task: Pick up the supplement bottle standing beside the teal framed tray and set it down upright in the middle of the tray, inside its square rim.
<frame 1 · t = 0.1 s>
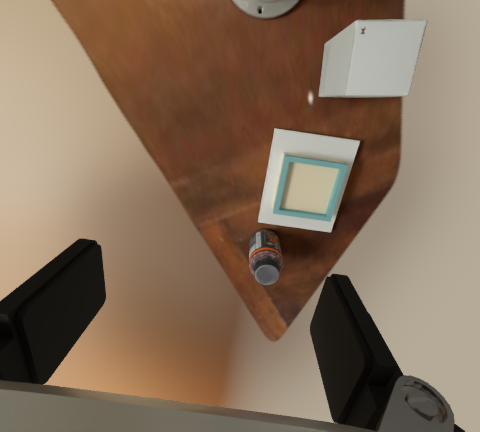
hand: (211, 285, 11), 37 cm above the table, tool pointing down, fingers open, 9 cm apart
supplement bottle: (264, 240, 52), on the table
supplement box: (344, 71, 39), on the table
teal framed tray: (304, 182, 46), on the table
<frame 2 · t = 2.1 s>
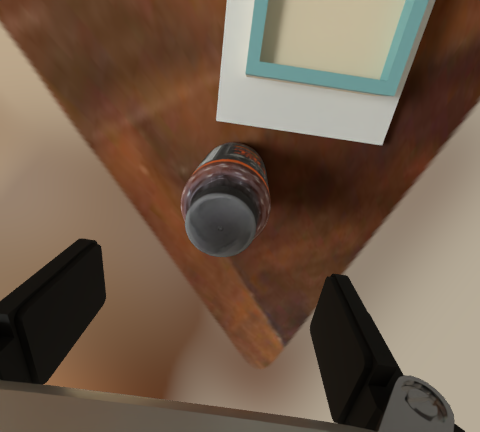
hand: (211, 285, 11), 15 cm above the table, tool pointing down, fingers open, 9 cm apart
supplement bottle: (234, 172, 24), on the table
teal framed tray: (324, 11, 19), on the table
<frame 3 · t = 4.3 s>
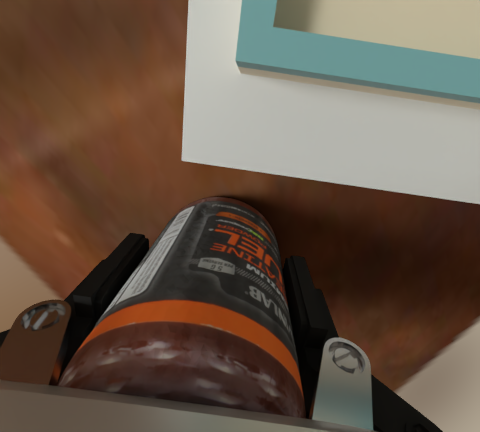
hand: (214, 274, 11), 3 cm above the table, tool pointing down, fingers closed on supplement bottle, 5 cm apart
supplement bottle: (221, 243, 14), on the table, touching gripper
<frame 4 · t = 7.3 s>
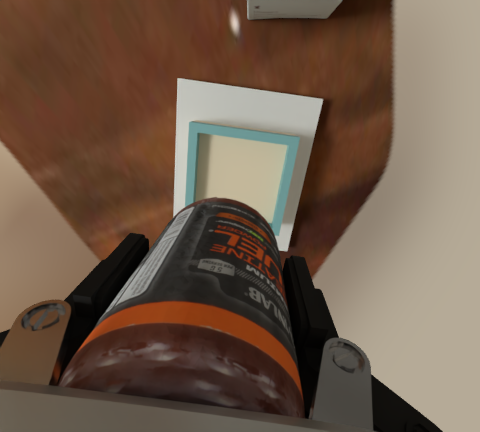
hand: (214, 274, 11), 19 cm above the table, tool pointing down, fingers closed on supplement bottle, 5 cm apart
supplement bottle: (221, 243, 14), point 16 cm above the table, touching gripper
teal framed tray: (239, 172, 29), on the table
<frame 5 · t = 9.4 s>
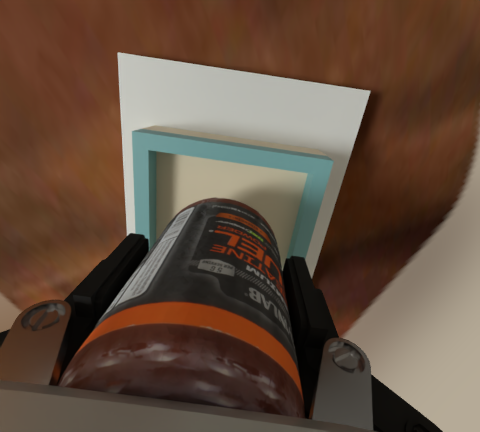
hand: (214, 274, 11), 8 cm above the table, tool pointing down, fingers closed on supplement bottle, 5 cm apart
supplement bottle: (221, 243, 14), point 5 cm above the table, touching gripper
teal framed tray: (228, 206, 19), on the table
when the fingers open (7 cm above the table, at t = 10.8 s): supplement bottle drops 1 cm, resting on teal framed tray.
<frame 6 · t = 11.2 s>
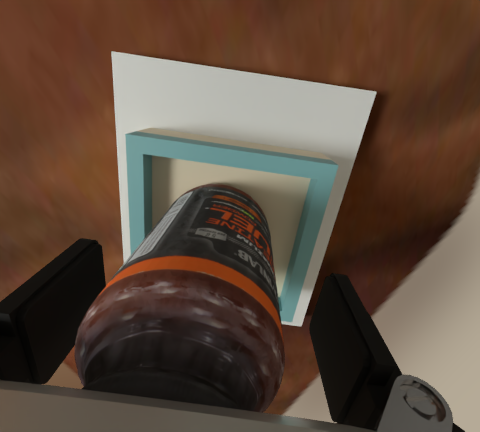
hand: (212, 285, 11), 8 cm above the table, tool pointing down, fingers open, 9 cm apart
supplement bottle: (218, 227, 15), point 3 cm above the table, touching teal framed tray
teal framed tray: (228, 211, 18), on the table
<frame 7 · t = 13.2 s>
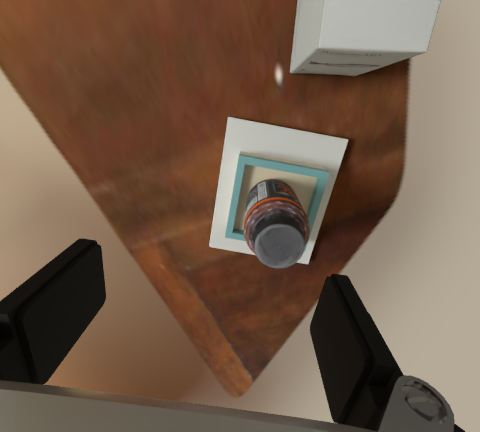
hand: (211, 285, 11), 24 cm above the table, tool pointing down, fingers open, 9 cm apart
supplement bottle: (270, 201, 31), point 3 cm above the table, touching teal framed tray
supplement box: (327, 37, 27), on the table
teal framed tray: (271, 195, 34), on the table
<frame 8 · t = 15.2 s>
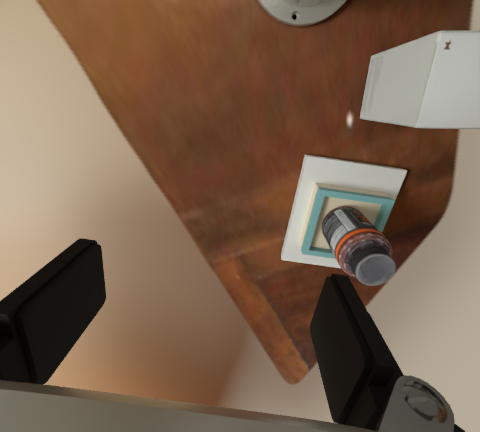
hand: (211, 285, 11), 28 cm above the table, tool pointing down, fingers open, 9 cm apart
supplement bottle: (340, 223, 37), point 3 cm above the table, touching teal framed tray
supplement box: (392, 89, 33), on the table
teal framed tray: (336, 215, 40), on the table
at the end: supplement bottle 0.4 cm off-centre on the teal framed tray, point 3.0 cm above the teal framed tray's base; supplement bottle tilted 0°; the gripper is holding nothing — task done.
